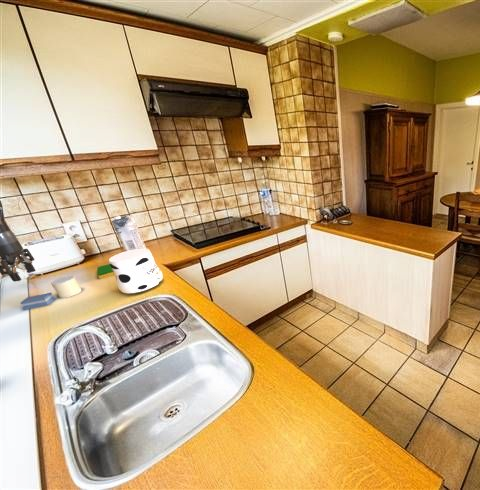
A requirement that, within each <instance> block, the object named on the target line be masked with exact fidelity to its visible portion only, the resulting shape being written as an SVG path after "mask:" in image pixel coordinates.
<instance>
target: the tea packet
mask: <svg viewBox="0 0 480 490" xmlns="http://www.w3.org/2000/svg"><path fill="white" fill-rule="evenodd" d="M55 300H56V298H55V297H54V295H53V293H52V292H46V293H42V294H36V295H31V296H27V297H26V298H24V299H23V300H22V301H21V302H20V303H19V304H20V306H21V307H22V308H23V309H24V310H25V311H26V310H30V309H36V308H40V307H46V306H49V305H51V304H52V303H53V302H55Z"/></svg>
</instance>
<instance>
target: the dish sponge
mask: <svg viewBox="0 0 480 490" xmlns="http://www.w3.org/2000/svg"><path fill="white" fill-rule="evenodd" d="M96 268H97V269H96V271H97V277H98V278H99V279H100V280H101V279H103V278H107V277H110V276H113V275H114V276H115V274H114V272H113V270H112V268H111V266H110V263H108V264H105V265H101V266H97V267H96Z"/></svg>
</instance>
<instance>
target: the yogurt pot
mask: <svg viewBox="0 0 480 490" xmlns="http://www.w3.org/2000/svg"><path fill="white" fill-rule="evenodd" d="M50 285H51V286H52V288H53V290H54V291H55V292H56V295H57V296H58V297H59V299H64V298H65V299H66V298H69V297H72V296H75V295H77V294H79V293H81V292H82V288H81V286H80V285H79V283H78V281H77V279H76V278H75V276H74V275H66V276H62V277H59V278H56V279H54V280H53V281H51V282H50Z"/></svg>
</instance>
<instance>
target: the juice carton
mask: <svg viewBox="0 0 480 490" xmlns="http://www.w3.org/2000/svg"><path fill="white" fill-rule="evenodd" d="M111 225H112V226H113V229H114V231H115V233H116V235H117V238H118V239H119V242H120V244H121V246H122V247H123V250H124V252H125V251H128V250H133V249H140V248H146V249H147V246H146V244H145V241H144V239H143V237H142V234H141V232H140V229H139V227H138V225H137V222H136V220H135V219H134V217H133V215H123V216H121V215H116V216H114V217H113V220H111Z"/></svg>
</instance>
